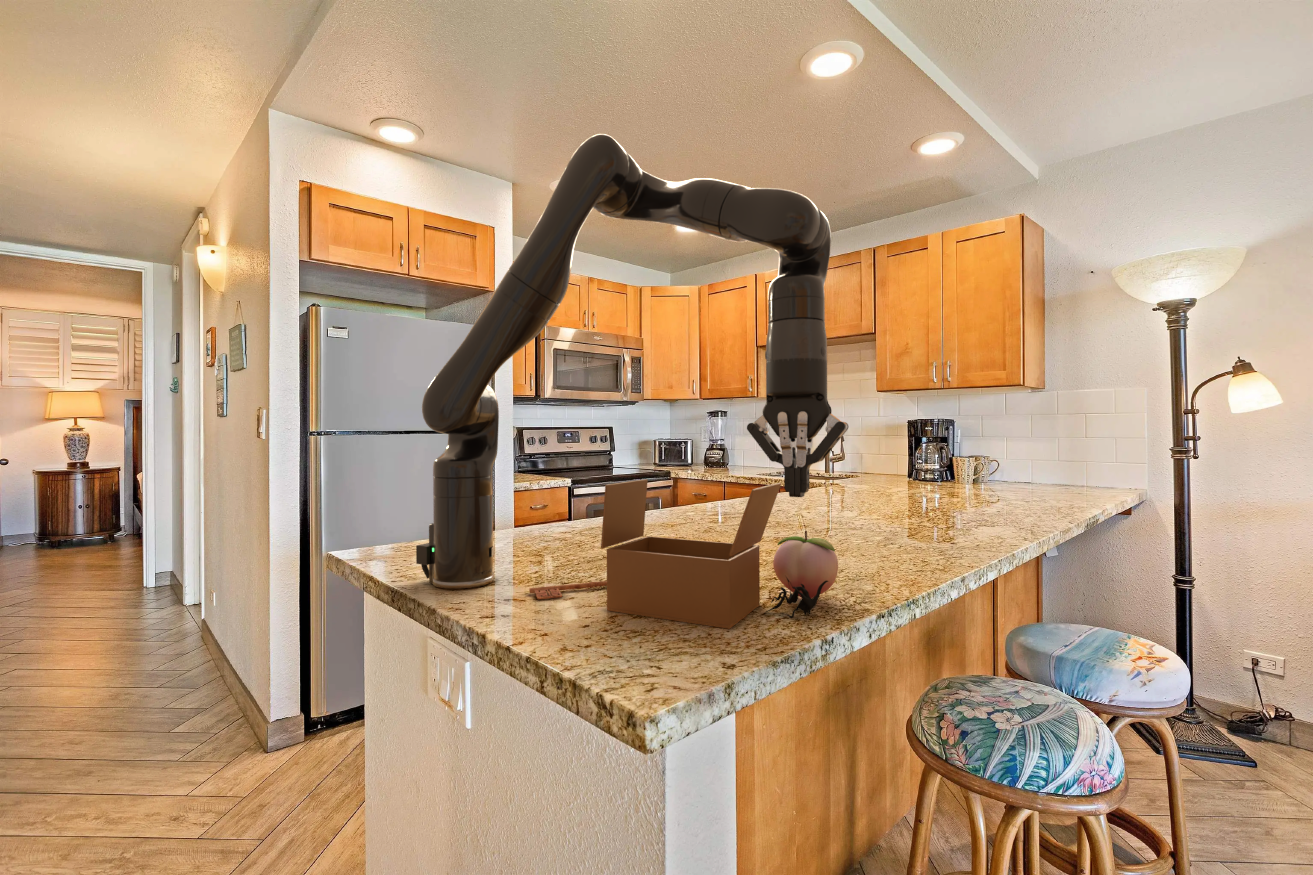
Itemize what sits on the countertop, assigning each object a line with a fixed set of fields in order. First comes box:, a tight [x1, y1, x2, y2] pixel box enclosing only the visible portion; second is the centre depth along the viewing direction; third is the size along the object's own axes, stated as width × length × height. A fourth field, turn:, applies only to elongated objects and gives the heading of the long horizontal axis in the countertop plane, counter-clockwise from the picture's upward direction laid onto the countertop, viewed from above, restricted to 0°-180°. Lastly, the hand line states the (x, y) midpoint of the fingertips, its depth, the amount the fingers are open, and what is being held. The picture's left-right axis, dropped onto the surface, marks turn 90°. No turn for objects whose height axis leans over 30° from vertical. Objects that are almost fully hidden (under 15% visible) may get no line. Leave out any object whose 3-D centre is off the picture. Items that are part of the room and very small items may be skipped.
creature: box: [764, 575, 828, 619], centre depth 82 cm, size 8×5×8 cm
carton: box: [600, 478, 761, 630], centre depth 85 cm, size 19×12×17 cm, turn 63°
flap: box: [729, 482, 782, 556], centre depth 80 cm, size 9×12×1 cm
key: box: [528, 579, 607, 600], centre depth 94 cm, size 6×1×15 cm
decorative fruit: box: [772, 530, 839, 599], centre depth 89 cm, size 9×8×10 cm
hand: (796, 496), depth 78 cm, fingers closed
